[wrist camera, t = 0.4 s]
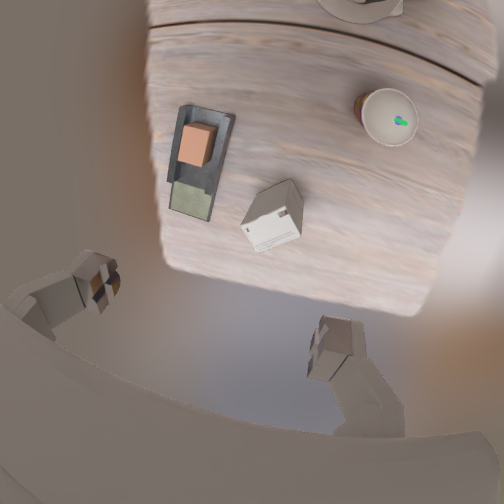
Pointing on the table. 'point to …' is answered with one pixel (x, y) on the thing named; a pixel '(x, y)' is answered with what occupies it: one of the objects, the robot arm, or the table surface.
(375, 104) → the smoothie
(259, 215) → the skincare box
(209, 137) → the block
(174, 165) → the chute
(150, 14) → the table surface
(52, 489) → the robot arm
